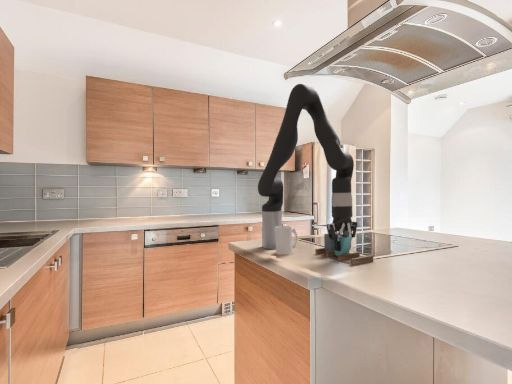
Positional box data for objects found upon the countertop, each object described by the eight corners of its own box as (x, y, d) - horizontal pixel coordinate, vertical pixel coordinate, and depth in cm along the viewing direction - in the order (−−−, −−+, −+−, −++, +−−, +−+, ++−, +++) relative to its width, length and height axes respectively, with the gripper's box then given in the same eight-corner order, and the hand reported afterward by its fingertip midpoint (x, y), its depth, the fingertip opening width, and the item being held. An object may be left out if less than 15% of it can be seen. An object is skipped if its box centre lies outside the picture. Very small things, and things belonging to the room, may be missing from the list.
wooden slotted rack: (315, 257, 113) (315, 249, 113) (334, 253, 118) (334, 246, 118) (352, 268, 96) (352, 259, 96) (373, 264, 100) (373, 255, 100)
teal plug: (334, 254, 108) (338, 229, 105) (341, 253, 110) (346, 228, 107) (341, 258, 105) (345, 232, 102) (348, 257, 107) (353, 231, 104)
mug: (281, 258, 111) (280, 228, 111) (272, 255, 117) (272, 226, 117) (302, 255, 116) (301, 226, 116) (293, 252, 122) (292, 224, 122)
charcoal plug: (324, 253, 113) (324, 228, 113) (331, 252, 115) (331, 227, 114) (330, 255, 110) (330, 229, 110) (337, 254, 111) (337, 228, 111)
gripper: (348, 203, 113) (349, 246, 113) (320, 205, 106) (321, 250, 106) (363, 204, 106) (364, 249, 106) (334, 206, 100) (335, 254, 100)
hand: (342, 249), depth 106 cm, fingers open, 4 cm apart
